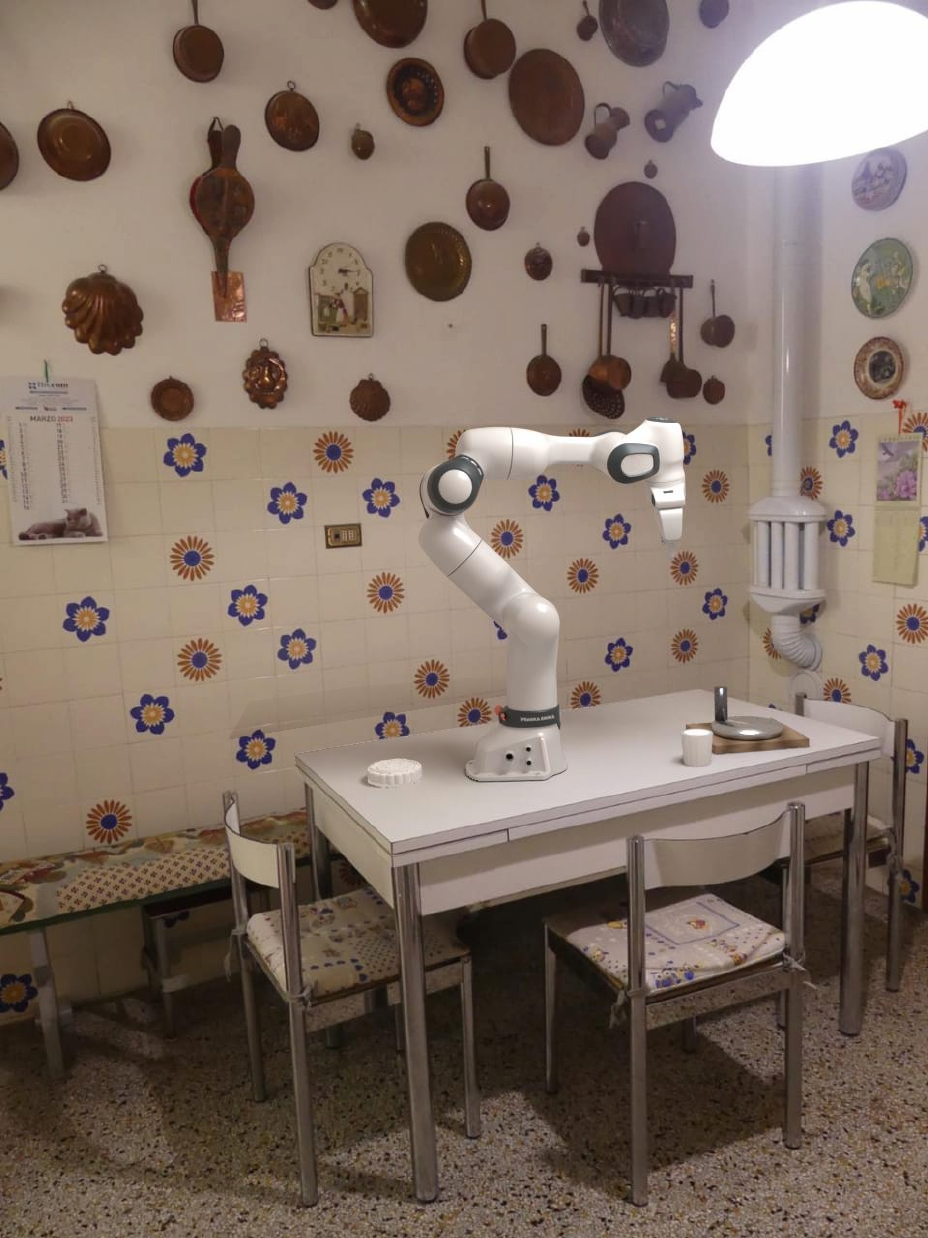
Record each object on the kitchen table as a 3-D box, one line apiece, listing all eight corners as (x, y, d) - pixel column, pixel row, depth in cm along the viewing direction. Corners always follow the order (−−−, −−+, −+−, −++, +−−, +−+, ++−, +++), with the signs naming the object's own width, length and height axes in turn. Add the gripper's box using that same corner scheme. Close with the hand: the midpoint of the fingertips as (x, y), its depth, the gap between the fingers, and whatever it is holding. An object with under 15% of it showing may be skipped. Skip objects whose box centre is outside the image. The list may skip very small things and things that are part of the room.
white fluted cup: (714, 768, 203) (714, 736, 202) (681, 767, 205) (681, 736, 204) (712, 758, 210) (712, 728, 209) (681, 758, 211) (680, 728, 210)
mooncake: (383, 770, 215) (382, 755, 214) (431, 774, 210) (430, 758, 209) (357, 787, 204) (356, 770, 203) (407, 791, 199) (406, 774, 199)
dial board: (715, 754, 213) (715, 744, 212) (685, 732, 232) (685, 723, 232) (809, 747, 215) (809, 737, 214) (772, 725, 234) (772, 716, 234)
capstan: (796, 729, 221) (796, 689, 220) (758, 743, 211) (757, 702, 210) (734, 718, 234) (734, 680, 233) (696, 731, 224) (695, 692, 222)
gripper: (645, 480, 220) (648, 537, 224) (656, 503, 201) (659, 565, 206) (673, 477, 219) (675, 535, 224) (686, 500, 200) (688, 562, 205)
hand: (667, 549), depth 215 cm, fingers open, 8 cm apart
